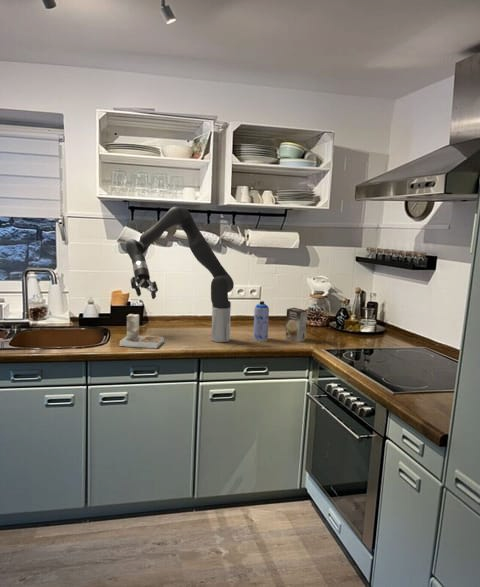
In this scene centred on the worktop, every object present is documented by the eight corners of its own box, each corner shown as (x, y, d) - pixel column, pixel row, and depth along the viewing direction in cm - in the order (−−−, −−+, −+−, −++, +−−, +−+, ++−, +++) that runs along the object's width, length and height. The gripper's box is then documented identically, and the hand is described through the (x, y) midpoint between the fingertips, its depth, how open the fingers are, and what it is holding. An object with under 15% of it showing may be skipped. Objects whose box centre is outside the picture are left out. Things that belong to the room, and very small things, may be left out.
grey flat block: (163, 342, 229) (163, 336, 228) (156, 348, 217) (156, 342, 216) (128, 339, 230) (128, 334, 230) (119, 346, 218) (119, 340, 218)
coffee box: (284, 338, 244) (285, 308, 241) (291, 336, 248) (293, 307, 246) (298, 342, 238) (300, 311, 235) (305, 340, 242) (307, 310, 240)
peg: (139, 342, 226) (139, 314, 224) (136, 345, 221) (136, 316, 219) (130, 342, 226) (129, 314, 224) (126, 344, 222) (126, 315, 220)
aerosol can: (269, 338, 243) (271, 300, 240) (266, 341, 236) (268, 303, 233) (254, 336, 245) (256, 299, 242) (251, 340, 238) (252, 302, 235)
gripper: (132, 264, 233) (138, 290, 225) (156, 270, 243) (162, 295, 235) (125, 272, 237) (130, 298, 229) (148, 278, 247) (154, 303, 239)
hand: (146, 296), depth 232 cm, fingers open, 8 cm apart
